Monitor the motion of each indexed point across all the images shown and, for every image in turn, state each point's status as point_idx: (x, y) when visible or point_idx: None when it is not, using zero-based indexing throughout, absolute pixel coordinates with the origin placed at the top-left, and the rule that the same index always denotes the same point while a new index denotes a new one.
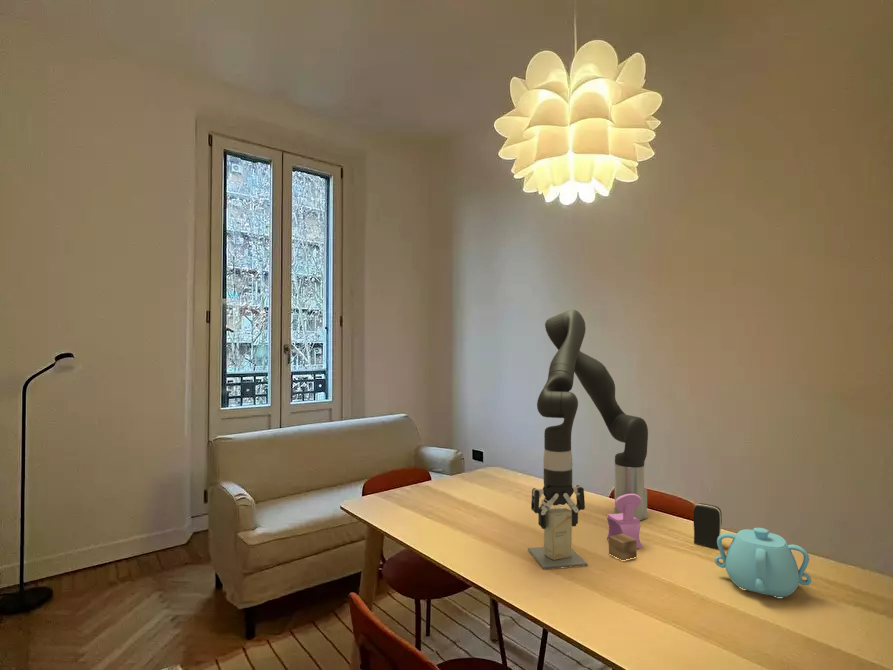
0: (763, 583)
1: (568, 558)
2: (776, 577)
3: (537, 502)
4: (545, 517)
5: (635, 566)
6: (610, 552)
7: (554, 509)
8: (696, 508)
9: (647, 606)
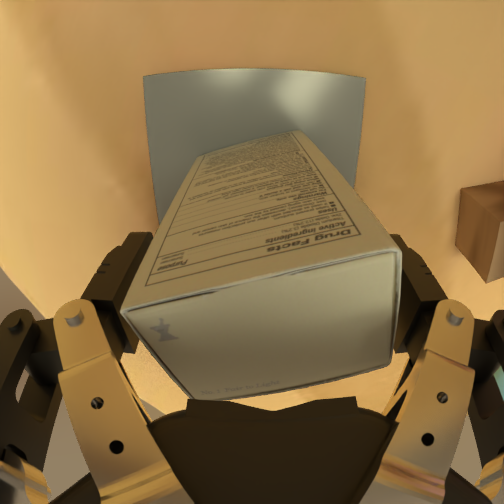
0: None
1: None
2: None
3: (36, 439)
4: (136, 339)
5: (458, 275)
6: (465, 201)
7: (241, 331)
8: None
9: (335, 396)
